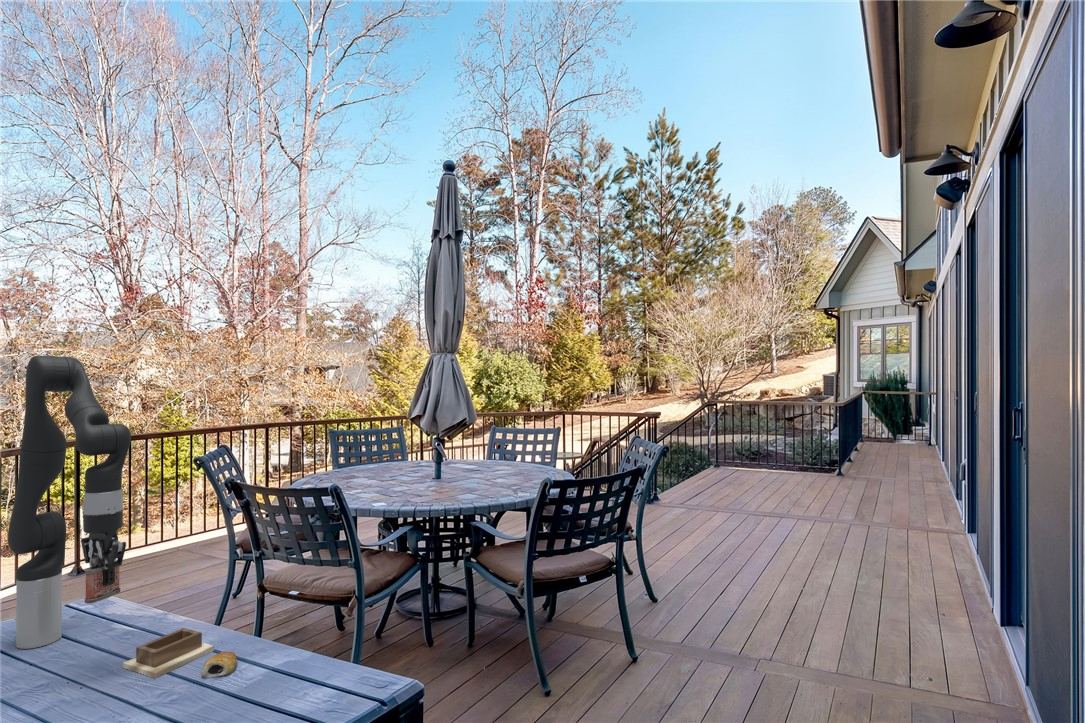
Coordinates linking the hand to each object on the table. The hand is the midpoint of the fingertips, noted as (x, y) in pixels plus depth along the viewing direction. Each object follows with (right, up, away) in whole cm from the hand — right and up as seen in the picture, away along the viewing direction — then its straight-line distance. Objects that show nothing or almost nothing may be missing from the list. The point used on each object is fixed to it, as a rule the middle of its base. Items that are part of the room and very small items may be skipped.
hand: (103, 583), depth 141 cm
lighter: (0, -4, 0) cm, 4 cm away
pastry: (+26, -22, +2) cm, 34 cm away
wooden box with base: (+11, -21, +7) cm, 25 cm away
